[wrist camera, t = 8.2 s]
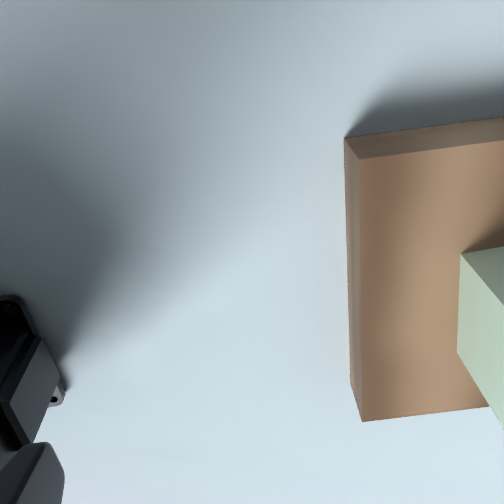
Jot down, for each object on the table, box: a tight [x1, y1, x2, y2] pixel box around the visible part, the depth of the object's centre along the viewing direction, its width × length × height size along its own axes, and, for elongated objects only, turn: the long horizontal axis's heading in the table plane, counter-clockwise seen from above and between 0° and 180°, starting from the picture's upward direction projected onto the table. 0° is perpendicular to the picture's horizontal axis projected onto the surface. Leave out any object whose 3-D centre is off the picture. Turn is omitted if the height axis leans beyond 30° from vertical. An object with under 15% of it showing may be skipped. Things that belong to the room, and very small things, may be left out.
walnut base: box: [344, 117, 504, 422], centre depth 21 cm, size 13×13×3 cm
